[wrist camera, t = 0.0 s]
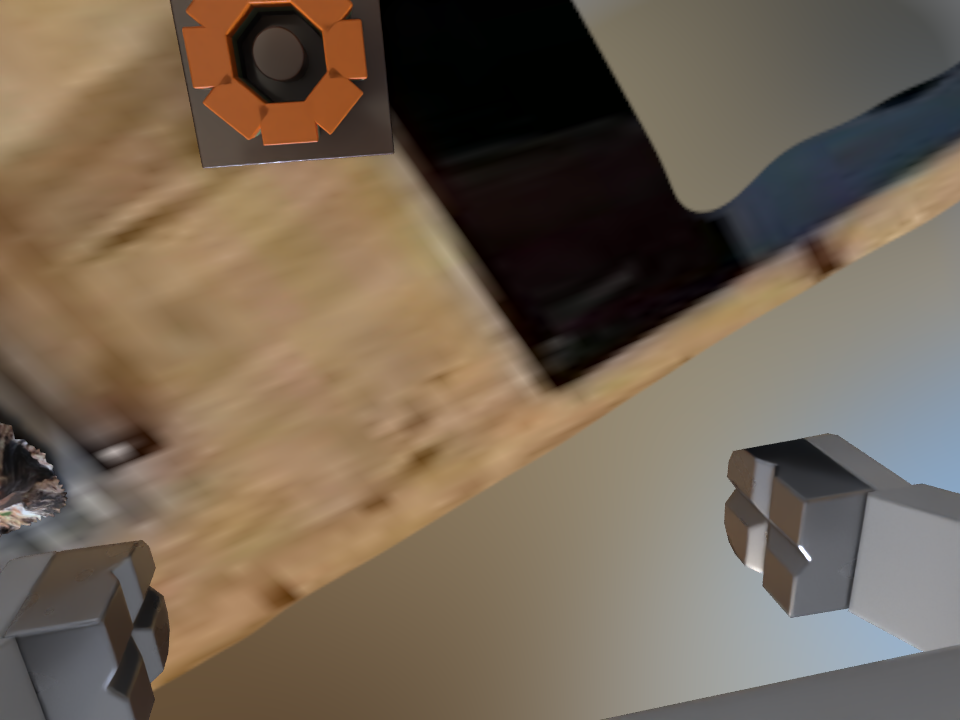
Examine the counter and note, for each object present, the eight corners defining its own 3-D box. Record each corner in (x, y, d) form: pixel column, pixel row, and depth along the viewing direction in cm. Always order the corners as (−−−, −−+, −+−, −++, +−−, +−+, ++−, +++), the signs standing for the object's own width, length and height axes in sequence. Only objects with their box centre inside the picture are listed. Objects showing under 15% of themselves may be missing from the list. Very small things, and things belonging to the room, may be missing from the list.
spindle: (167, -45, 31) (131, -75, 26) (372, -51, 33) (379, -81, 27) (207, 165, 34) (183, 179, 29) (392, 151, 36) (402, 162, 30)
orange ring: (176, -35, 27) (167, -42, 26) (353, -41, 28) (354, -49, 27) (211, 147, 30) (204, 150, 28) (372, 135, 31) (374, 137, 29)
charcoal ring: (192, -23, 30) (184, -29, 29) (351, -29, 31) (352, -34, 30) (222, 142, 33) (216, 144, 31) (369, 132, 34) (370, 133, 32)
